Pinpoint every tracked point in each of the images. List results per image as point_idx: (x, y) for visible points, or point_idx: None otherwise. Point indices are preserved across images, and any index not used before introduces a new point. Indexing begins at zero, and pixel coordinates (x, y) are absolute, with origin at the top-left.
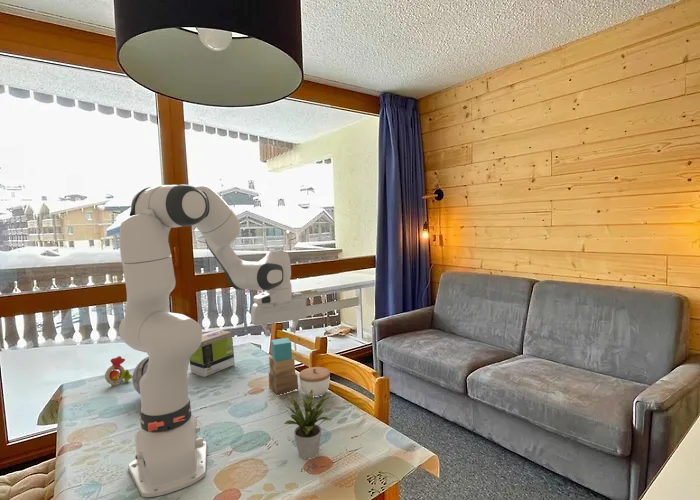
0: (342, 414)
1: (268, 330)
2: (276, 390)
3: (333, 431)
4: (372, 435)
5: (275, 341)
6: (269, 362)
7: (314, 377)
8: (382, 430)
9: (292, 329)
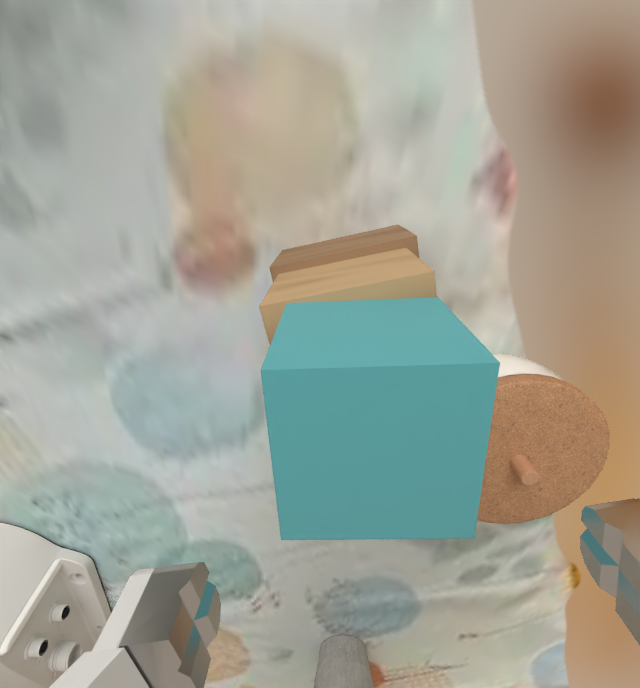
0: (494, 550)
1: (162, 657)
2: None
3: (429, 606)
4: (511, 644)
5: (308, 444)
6: (267, 294)
7: (488, 513)
8: (547, 638)
9: (625, 609)
